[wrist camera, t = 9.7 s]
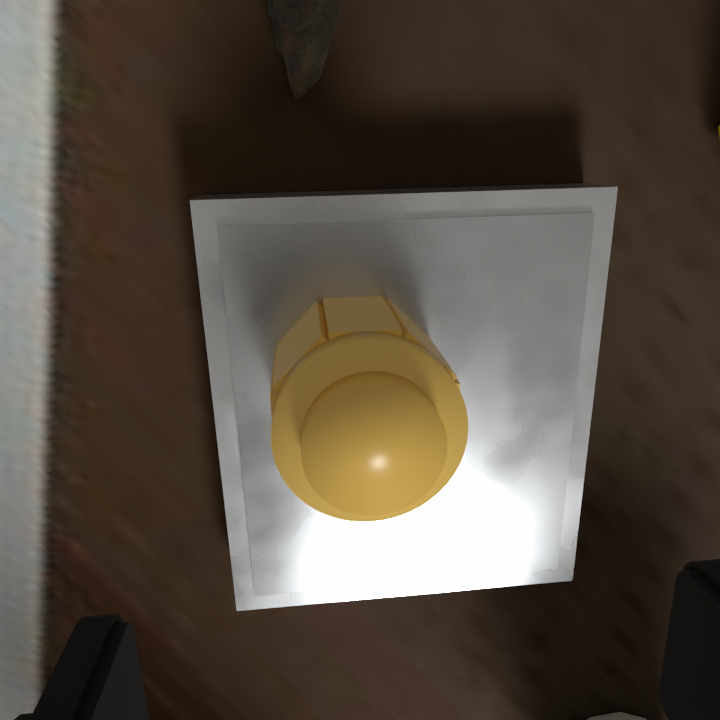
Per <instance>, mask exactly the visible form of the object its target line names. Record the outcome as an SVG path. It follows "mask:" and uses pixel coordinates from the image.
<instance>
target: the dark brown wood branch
mask: <svg viewBox="0 0 720 720" xmlns="http://www.w3.org/2000/svg"><path fill="white" fill-rule="evenodd" d="M341 5H342V0H267V10H268V18H269V19H270V20H271V21H272V25H273V29H274V38H275V45H276V50H277V51H278V52H279V53H280V54H281V55H282V57H283V58H284V62H285V67H286V72H287V76H288V81H289V85H290V88H291V91H292V94H293V96H294V99H295V100H299V99H301V98H302V97H303V96H304V95H305V94H306V93H307V92H308V90H309V89H310V88H312V87H313V86H314V85H315V84H316V82H317V81H318V80H319V78H320V76H321V73H322V70H323V67H324V64H325V61H326V58H327V54H328V50H329V46H330V41H331V39H332V37H333V34H334V32H335V30H336V28H337V24H338V20H339V15H340V10H341Z"/></svg>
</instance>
